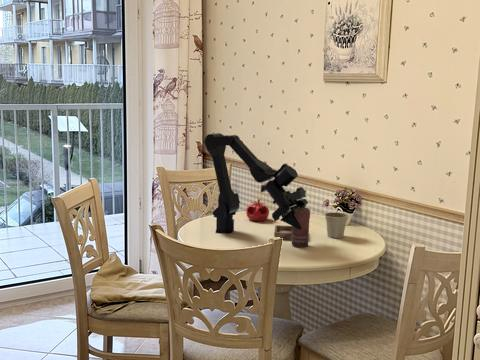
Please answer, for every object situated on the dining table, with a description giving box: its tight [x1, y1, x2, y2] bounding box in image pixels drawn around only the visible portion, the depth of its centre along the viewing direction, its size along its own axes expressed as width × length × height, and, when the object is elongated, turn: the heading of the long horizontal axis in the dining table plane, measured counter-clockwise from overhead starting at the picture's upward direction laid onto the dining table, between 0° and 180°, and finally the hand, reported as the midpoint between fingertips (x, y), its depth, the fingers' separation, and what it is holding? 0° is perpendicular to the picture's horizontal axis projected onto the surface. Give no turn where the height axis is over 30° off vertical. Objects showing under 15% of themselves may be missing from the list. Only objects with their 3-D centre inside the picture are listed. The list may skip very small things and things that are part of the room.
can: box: [291, 206, 311, 249], centre depth 207 cm, size 6×6×14 cm
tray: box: [273, 224, 292, 241], centre depth 222 cm, size 12×12×2 cm
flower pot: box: [323, 211, 349, 239], centre depth 221 cm, size 9×9×9 cm
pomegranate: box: [245, 198, 270, 222], centre depth 246 cm, size 10×10×9 cm
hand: (304, 227), depth 207 cm, fingers closed on can, 5 cm apart
